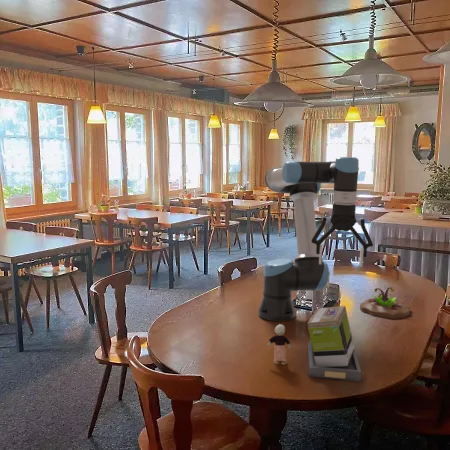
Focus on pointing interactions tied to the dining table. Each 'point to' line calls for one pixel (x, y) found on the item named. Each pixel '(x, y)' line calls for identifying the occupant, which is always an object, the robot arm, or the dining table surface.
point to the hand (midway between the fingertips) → (340, 264)
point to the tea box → (331, 337)
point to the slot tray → (335, 368)
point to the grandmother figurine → (280, 345)
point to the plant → (385, 306)
